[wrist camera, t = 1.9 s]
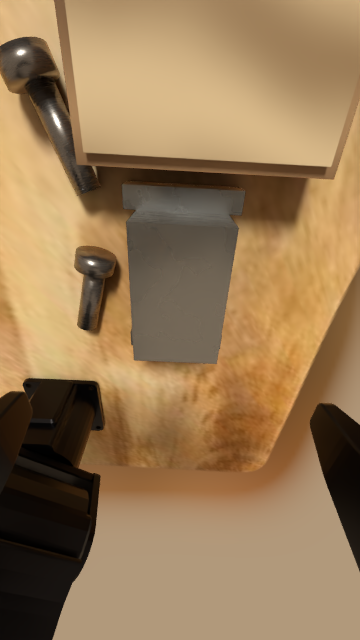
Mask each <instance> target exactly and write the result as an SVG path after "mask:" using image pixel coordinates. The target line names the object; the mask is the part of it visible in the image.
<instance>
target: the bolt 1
mask: <svg viewBox="0 0 360 640" xmlns="http://www.w3.org/2000/svg"><path fill="white" fill-rule="evenodd" d="M0 74H1V76H2V78H3V80H4V82H5V84H6V86H7V88H8V90H9V91H10V92H12V93H16V94H25V93H28V95H29V98H30V100H31V102H32V104H33V106H34V108H35V110H36V112H37V114H38V116H39V118H40V120H41V122H42V124H43V126H44V128H45V130H46V132H47V135H48V137H49V139H50V141H51V143H52V145H53V147H54V149H55V151H56V153H57V155H58V157H59V159H60V161H61V163H62V165H63V167H64V169H65V172H66V174H67V176H68V178H69V180H70V182H71V184H72V186H73V188H74V190H75V192H76V194H77V196H79V195H81V194H84V193H86V192H89V191H92V190H94V189H97V188H99V187H101V186H100V184H99V182H98V179H97V177H96V175H95V173H94V170H93V168H92V166H91V165H77V163H76V155H75V148H74V141H73V133H72V126H71V119H70V115H69V113H68V111H67V108H66V106H65V104H64V102H63V99H62V97H61V95H60V92H59V90H58V88H57V85H56V83H55V82H56V81H57V80H58V78H59V76H60V73H59V71H58V68H57V66H56V64H55V61H54V59H53V56H52V54H51V52H50V49H49V47H48V45H47V43H46V41H44V40H43V39H41V38H37V37H22V38H18V39H14V40H11V41H9V42H7V43H5V44H3V45H1V46H0Z"/></svg>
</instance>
